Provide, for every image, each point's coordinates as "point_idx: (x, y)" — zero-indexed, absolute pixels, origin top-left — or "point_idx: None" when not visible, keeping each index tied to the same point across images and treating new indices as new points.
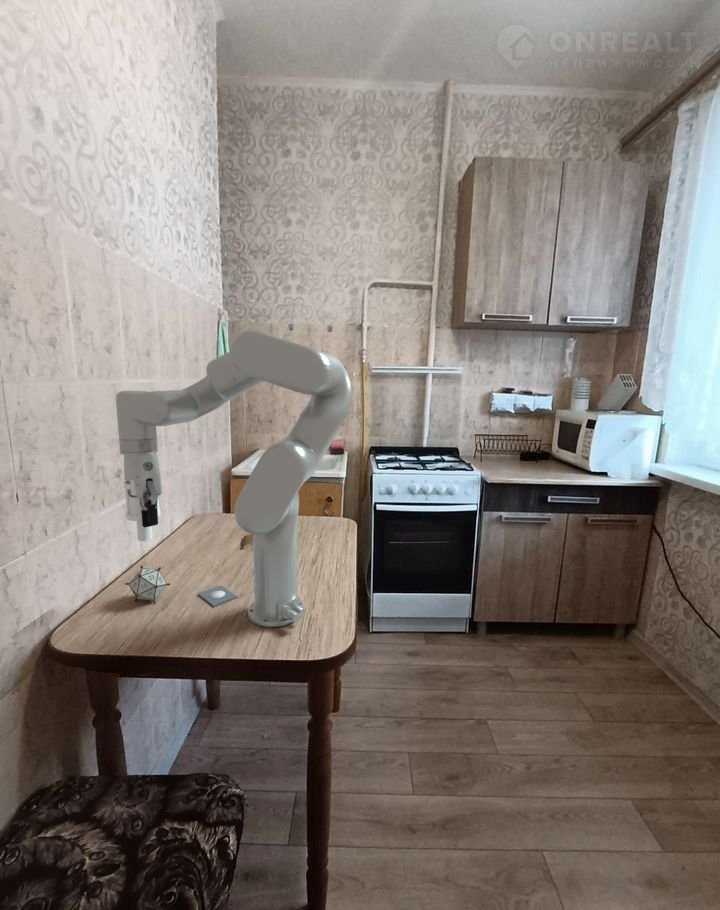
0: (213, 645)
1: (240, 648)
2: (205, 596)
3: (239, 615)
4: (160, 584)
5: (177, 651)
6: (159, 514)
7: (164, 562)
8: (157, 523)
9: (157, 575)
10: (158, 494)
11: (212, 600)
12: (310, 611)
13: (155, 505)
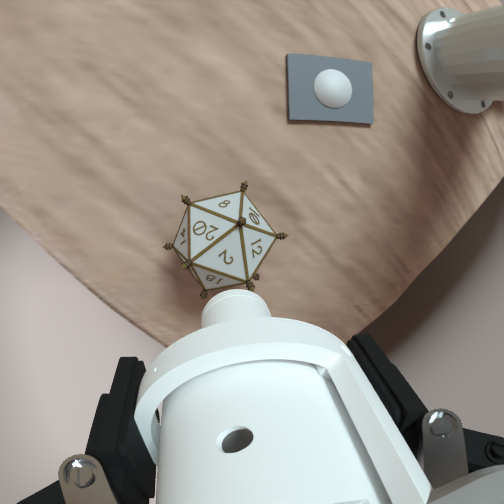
0: (463, 196)
1: (489, 171)
2: (319, 114)
3: (429, 109)
4: (261, 217)
5: (438, 245)
6: (336, 340)
7: (21, 132)
8: (368, 337)
9: (255, 229)
10: (448, 484)
11: (350, 113)
12: None
13: (476, 435)
